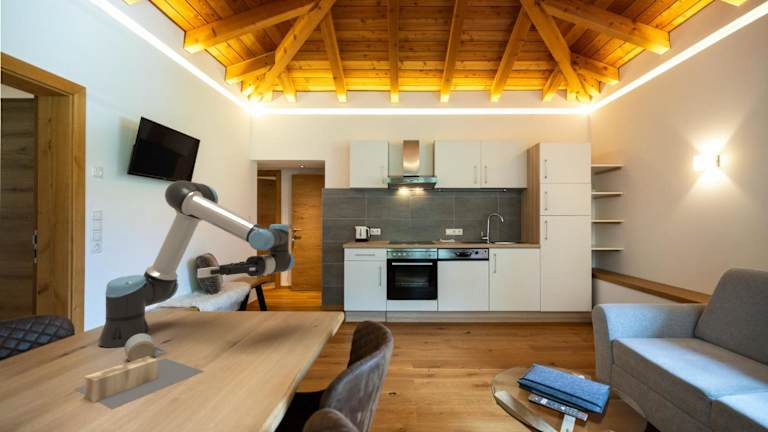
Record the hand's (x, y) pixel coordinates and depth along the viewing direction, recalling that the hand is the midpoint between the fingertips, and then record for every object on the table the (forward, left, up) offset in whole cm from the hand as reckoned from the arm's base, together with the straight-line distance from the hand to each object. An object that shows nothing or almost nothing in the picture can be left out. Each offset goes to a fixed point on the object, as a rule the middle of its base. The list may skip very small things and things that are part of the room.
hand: (198, 273), depth 104 cm
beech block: (0, -13, -24) cm, 27 cm away
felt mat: (0, -15, -28) cm, 32 cm away
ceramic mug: (-18, -6, -28) cm, 34 cm away
